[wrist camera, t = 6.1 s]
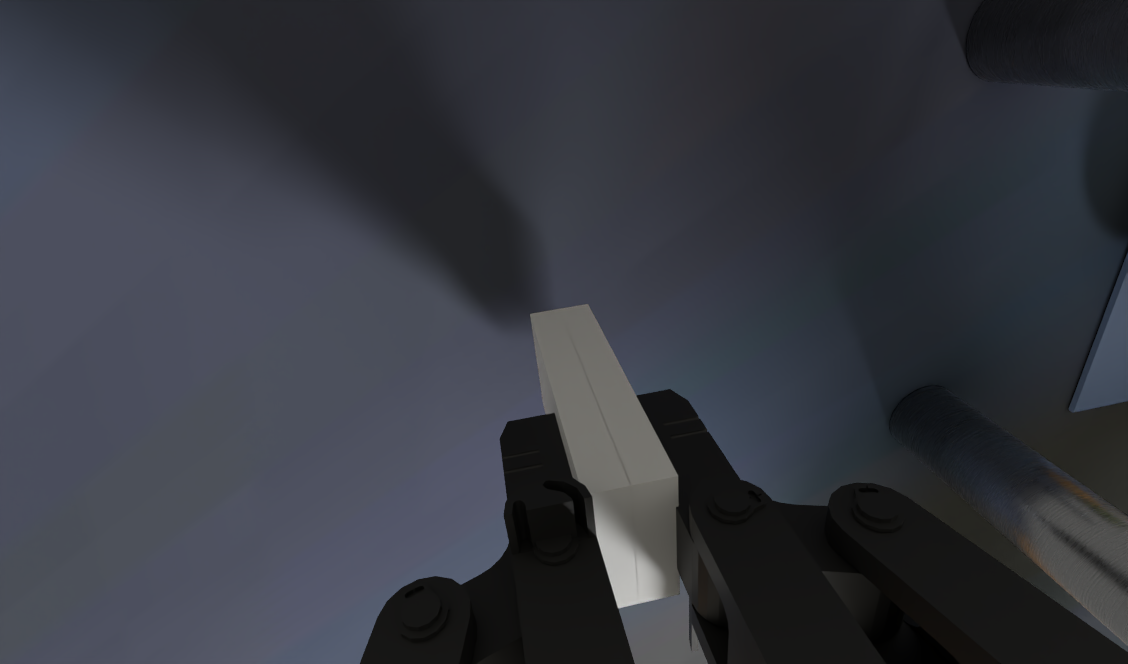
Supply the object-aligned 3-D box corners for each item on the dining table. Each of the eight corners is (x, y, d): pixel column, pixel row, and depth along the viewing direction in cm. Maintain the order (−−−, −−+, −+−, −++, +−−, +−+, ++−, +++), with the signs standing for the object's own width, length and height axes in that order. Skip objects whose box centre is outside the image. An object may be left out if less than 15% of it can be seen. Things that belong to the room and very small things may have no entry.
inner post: (945, 435, 22) (1230, 662, 14) (884, 448, 21) (1139, 687, 13) (959, 380, 20) (1281, 593, 13) (895, 392, 20) (1182, 618, 12)
